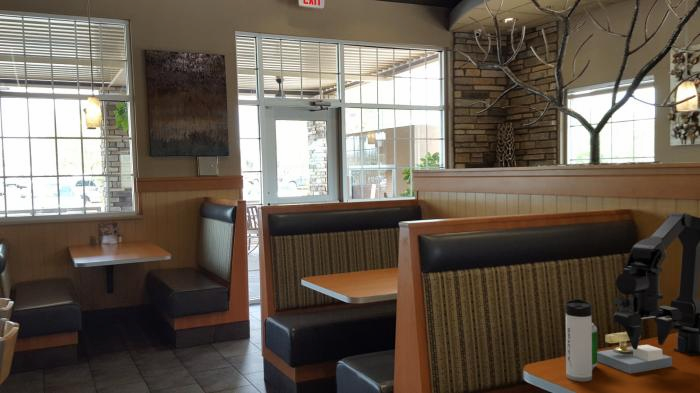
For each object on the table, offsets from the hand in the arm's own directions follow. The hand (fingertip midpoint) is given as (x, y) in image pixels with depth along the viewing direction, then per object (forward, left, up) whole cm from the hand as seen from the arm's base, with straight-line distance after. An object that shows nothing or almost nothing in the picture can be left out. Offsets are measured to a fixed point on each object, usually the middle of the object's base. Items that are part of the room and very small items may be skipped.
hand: (647, 346), depth 160 cm
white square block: (0, 0, -3) cm, 3 cm away
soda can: (+16, -7, -6) cm, 18 cm away
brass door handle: (+2, -7, -3) cm, 8 cm away
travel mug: (+23, 0, -6) cm, 24 cm away
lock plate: (+2, -3, -5) cm, 7 cm away
